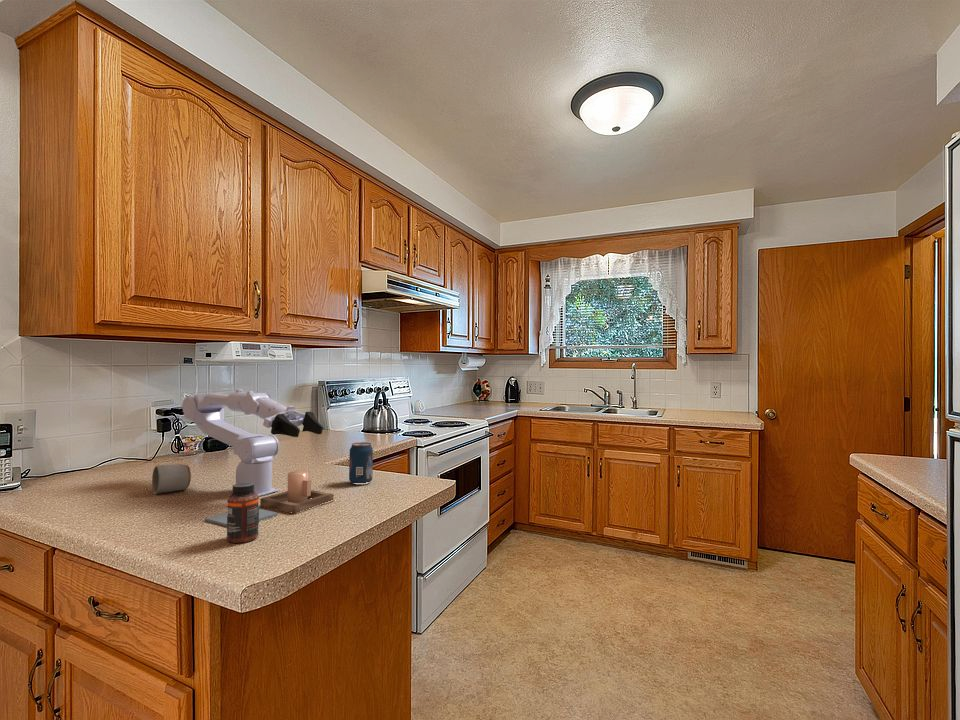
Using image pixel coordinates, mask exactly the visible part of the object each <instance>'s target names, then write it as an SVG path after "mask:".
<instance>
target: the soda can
mask: <svg viewBox="0 0 960 720" xmlns="http://www.w3.org/2000/svg"><path fill="white" fill-rule="evenodd" d="M373 451H374V449H373V447H372V443H371V442H363V441H362V442H353V443H351V446H350V448H349V459H348V461H349V463H348V464H349V465H348V466H349V468H348V470H349V471H348V480H349V482H350V483H366V482H370V481H371V482H372V480H373V471H374V470H373V466H374V465H373V463H374V462H373V458H374V457H373V456H374V455H373V453H374V452H373ZM371 482H370V483H371Z"/></svg>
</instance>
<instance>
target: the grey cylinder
mask: <svg viewBox="0 0 960 720" xmlns="http://www.w3.org/2000/svg"><path fill="white" fill-rule="evenodd" d="M151 475H152V476H151V486H152V487H151V488H152V492H153V494H155V495H159V494H160V495H161V494H167V493H172V492H173V493H174V492H178V491H183V490H187V489H188V488H189V486H190V484H191V481H192V479H191V478H192V473H191V469H190V466H189V465H187V464H181V463H180V464H179V463H178V464H163V465H162V464H160V465H155V466H154V468H153V470H152V474H151Z"/></svg>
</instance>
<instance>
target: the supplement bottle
mask: <svg viewBox="0 0 960 720" xmlns="http://www.w3.org/2000/svg"><path fill="white" fill-rule="evenodd" d="M226 505H227V506H226V507H227V508H226V512H227V527H226V540H227V541H228V542H230V543H232V544H240V543H241V544H242V543H248V542H251V541H253V540H255V539H257V538H258V537H259V534H260V533H259V531H260V529H259V528H260V521H259V509H260V496H259V495H258V494H257V493H256V492H255V491H254V483H252V482H241V483H236V482H235V483H234V484H233V485H232V493H231V494H230V495H229V496H228V497H227V504H226Z"/></svg>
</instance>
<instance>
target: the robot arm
mask: <svg viewBox="0 0 960 720" xmlns="http://www.w3.org/2000/svg"><path fill="white" fill-rule="evenodd" d="M181 406H182V407H181V408H182V412H183V415H184V418H185V419H187V420H189V421H191V422H193V423H194V424H195V426H197V428H198V429H199V430H200V431H201V432H202V434H204V435H207V436H209V437H210V438H213V439H215V440H217V441H220V442H221V443H224V444H226V445H228V446H230V447H233V453H234V455H236V456H237V457H238V458H239V459H240V461H239V463H238V464H237V466H236V469H235V484H236V483H241V482H252V483H254V491H255V492H256V493H257V494H258V495H259V497H261V496H264V495H270V494H272V493H275V492H279V491H280V490H279V488H274V487H273V460H276V456H277V455H278V453H279V451H280V441H279V439H278V438H277V436H275V435H283V436H289V437H294V438H299V434H300V432H301V431H300V430H301V429H300V428H299V427H300V426H303V427H302V432H310V433H313V434H316V435H322V434H323V430H324V426H323V425H322V424H321V423H320V422H319V421H318V420H317V418H316V416H315V413H314V412H312V411H305V413H303V412H301V411H298V410H295V409H296V408H295V406H294V405H288V406H285V405H283V404H281V403H279V402H278V401H275V400H273V399H272V397H271V395H270V394H269V393H268V392H265V391H262V392H254V391H253V390H248V391H244V389H236V390H235V391H233V392H231V393H230V394H225V393H218V392H215V393H205V394H203V393H202V394H195V395H187V396H185V398H184V399H183V401H182V404H181ZM225 407H227V408H228V409H229V410H230V411H232V412H240V413H243V414H244V415H247V416H248V415H254V416H256V417H259V418H260V419H262V420H263V422H262V426H264V427H265V428H267V429H270V428H271V429H270V434H268V435H266V434H260V433H251V432H249V431H246V430H244V429H242V428H240V427H237V426H235V425H232V424H231V423H229V422H226V421H224V420H225V410H224V409H225Z"/></svg>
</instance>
